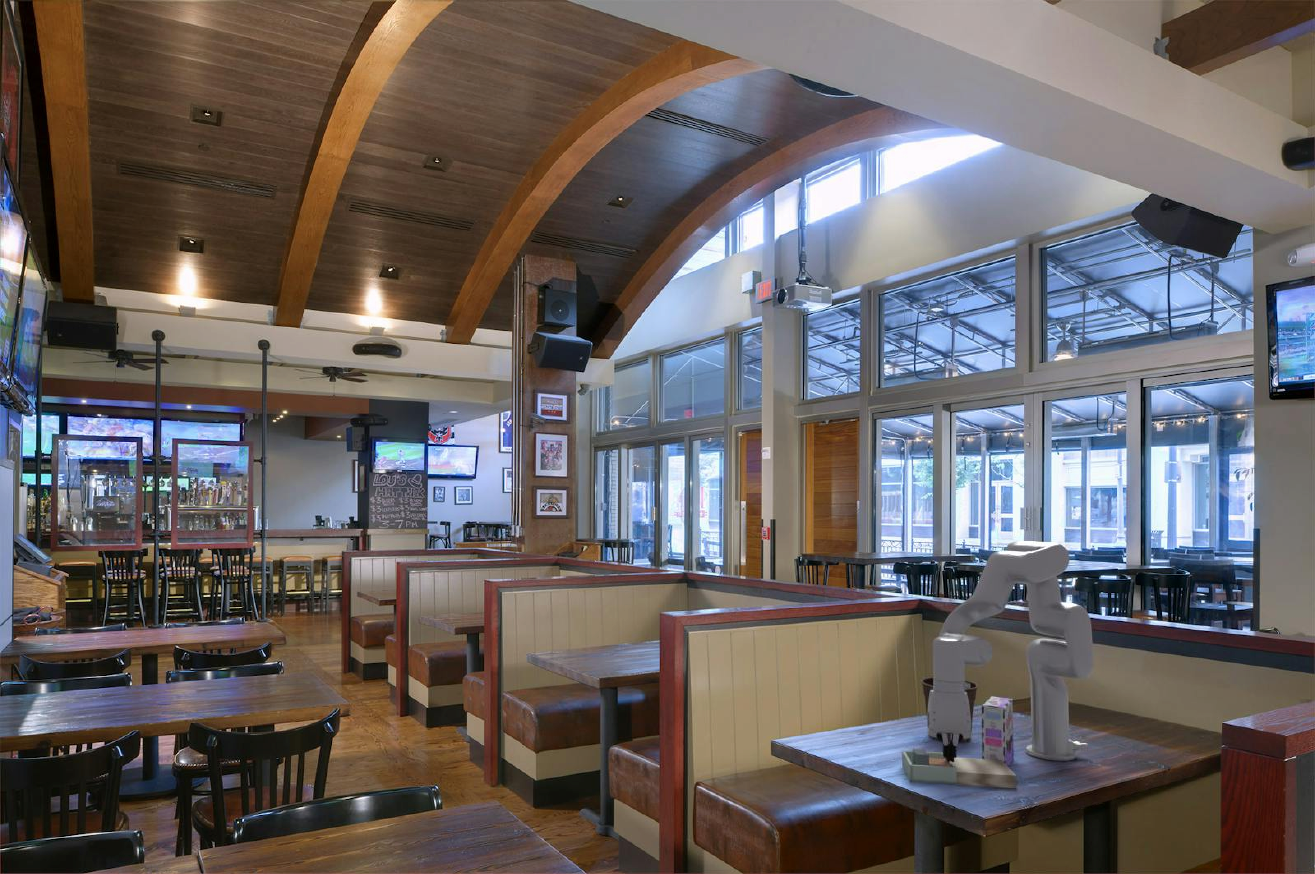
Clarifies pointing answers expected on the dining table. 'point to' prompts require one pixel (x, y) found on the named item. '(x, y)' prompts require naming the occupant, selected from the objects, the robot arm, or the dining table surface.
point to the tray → (928, 770)
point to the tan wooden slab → (983, 772)
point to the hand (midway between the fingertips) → (949, 760)
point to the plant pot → (970, 691)
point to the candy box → (997, 730)
